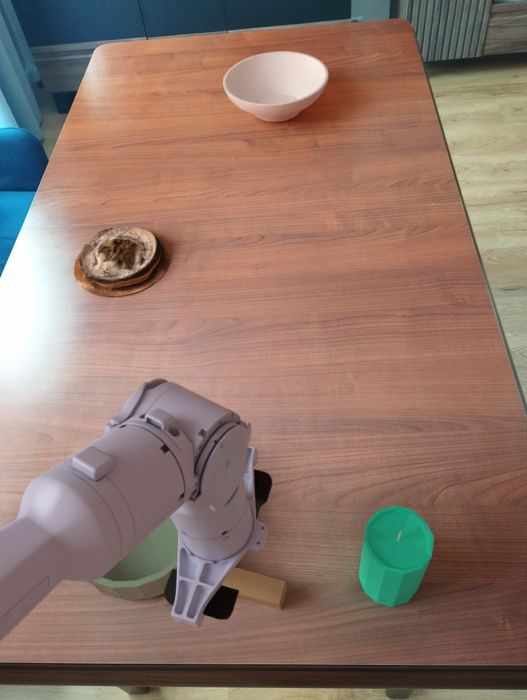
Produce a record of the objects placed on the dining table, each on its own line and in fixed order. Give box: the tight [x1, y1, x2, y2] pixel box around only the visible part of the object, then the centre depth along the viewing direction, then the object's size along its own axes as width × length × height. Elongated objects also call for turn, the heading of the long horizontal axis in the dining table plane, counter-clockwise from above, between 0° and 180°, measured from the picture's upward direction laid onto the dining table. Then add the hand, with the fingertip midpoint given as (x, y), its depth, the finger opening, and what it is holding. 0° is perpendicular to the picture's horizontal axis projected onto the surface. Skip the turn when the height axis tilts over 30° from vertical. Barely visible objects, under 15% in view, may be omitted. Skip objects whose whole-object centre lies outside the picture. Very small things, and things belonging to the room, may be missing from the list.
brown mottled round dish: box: [73, 226, 172, 298], centre depth 89 cm, size 15×15×4 cm
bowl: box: [222, 50, 330, 123], centre depth 110 cm, size 20×20×7 cm
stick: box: [222, 566, 288, 611], centre depth 58 cm, size 2×9×2 cm, turn 73°
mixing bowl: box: [88, 517, 178, 601], centre depth 62 cm, size 15×15×5 cm
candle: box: [358, 505, 435, 608], centre depth 54 cm, size 6×6×12 cm
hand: (232, 561), depth 53 cm, fingers open, 7 cm apart
